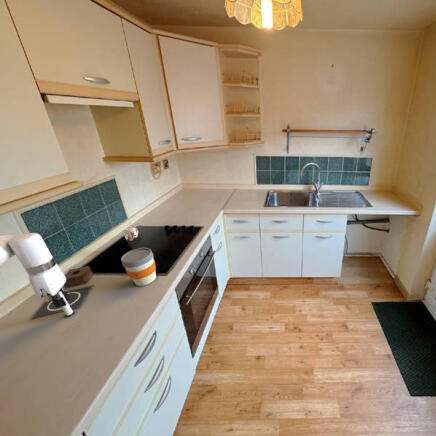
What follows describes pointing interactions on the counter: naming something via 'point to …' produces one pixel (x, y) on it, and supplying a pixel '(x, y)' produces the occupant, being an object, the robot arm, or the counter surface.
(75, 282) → the holder
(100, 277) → the counter surface
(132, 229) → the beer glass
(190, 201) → the counter surface
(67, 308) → the marker
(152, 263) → the reusable coffee cup
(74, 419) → the counter surface
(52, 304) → the slate board
